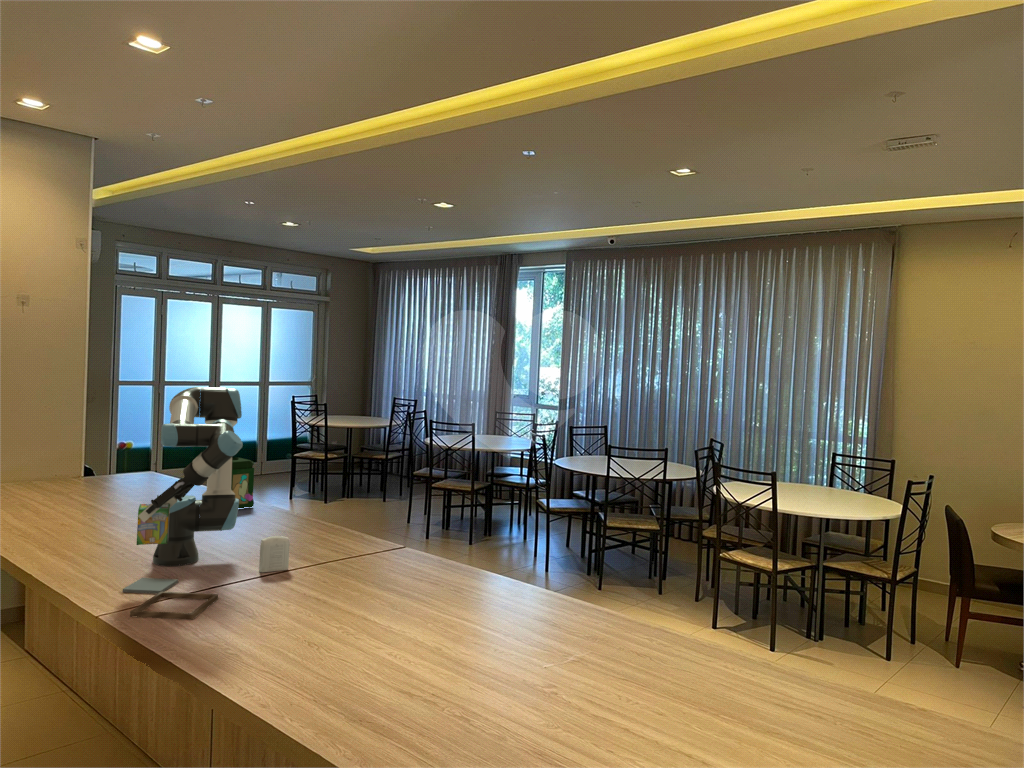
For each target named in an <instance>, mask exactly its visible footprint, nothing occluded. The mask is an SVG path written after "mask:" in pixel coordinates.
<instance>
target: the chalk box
mask: <svg viewBox="0 0 1024 768" xmlns="http://www.w3.org/2000/svg"><path fill="white" fill-rule="evenodd" d="M158 496H159V494H157V497H158ZM157 497H156V498H157ZM151 504H152V503H139V506H138V510H137V527H136V529H137V531H136V546H140V545H141V546H142V545H143V546H145V545H158V544H167V543H168V534H169V515H170V504H169V503H167V504H163V505H162V506H161V507H160V509H158V510H157V511H156V512H155V513H154V514H153V515H152V516H151V517H150V518H149V519H148V520H146V521H145V522H143V521H142V520H141V519H140V518H139V517H138V515H140V514H141V513H142V512H143V511H144V510H145V509H146V508H147V507H148V506H149V505H151Z"/></svg>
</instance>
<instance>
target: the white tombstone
mask: <svg viewBox="0 0 1024 768" xmlns="http://www.w3.org/2000/svg"><path fill="white" fill-rule="evenodd" d="M259 549H260V550H259V564H258V571H259V573H270V572H278V571H287V570H288V569H289V562H290V561H289V559H290V538H289V537H287V536H282V535H273V536H268V537H266V538H262V539H261V541H260V545H259Z"/></svg>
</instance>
